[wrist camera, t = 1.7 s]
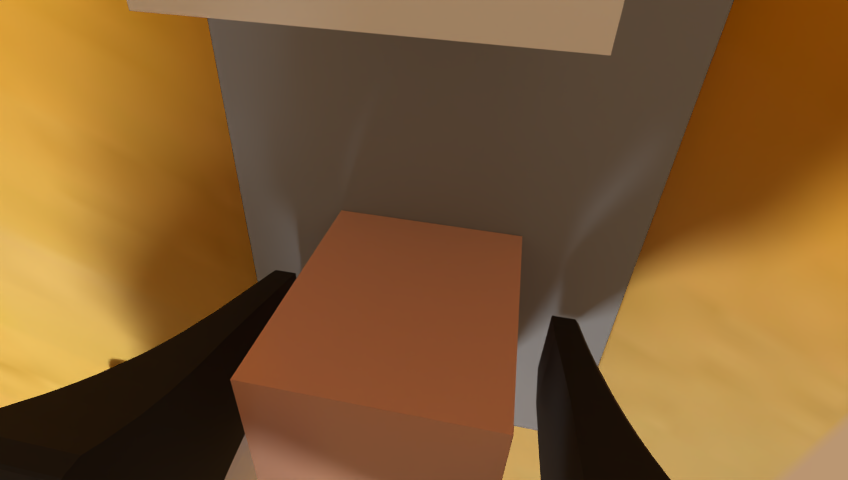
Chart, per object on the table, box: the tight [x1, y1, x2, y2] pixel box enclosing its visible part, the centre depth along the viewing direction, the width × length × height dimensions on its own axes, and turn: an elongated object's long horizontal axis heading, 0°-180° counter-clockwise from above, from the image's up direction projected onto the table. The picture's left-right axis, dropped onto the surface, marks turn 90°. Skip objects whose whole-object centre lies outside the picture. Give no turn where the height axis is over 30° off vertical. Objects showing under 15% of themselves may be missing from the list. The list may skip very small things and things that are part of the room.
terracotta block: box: [230, 210, 522, 480], centre depth 12 cm, size 5×5×6 cm
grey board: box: [207, 0, 734, 430], centre depth 12 cm, size 22×11×1 cm, turn 178°
